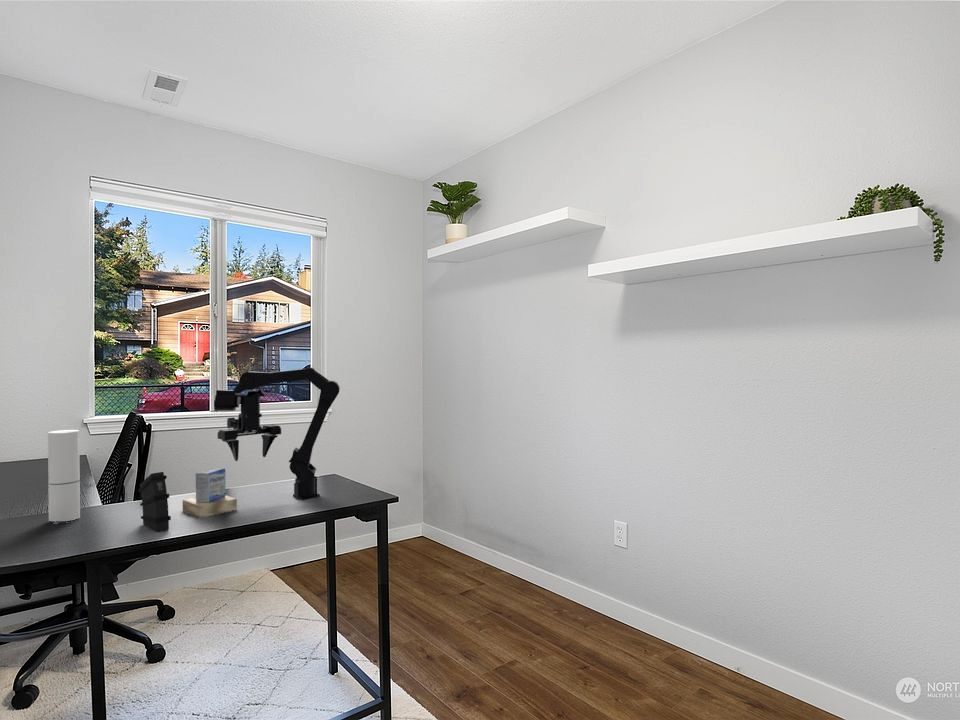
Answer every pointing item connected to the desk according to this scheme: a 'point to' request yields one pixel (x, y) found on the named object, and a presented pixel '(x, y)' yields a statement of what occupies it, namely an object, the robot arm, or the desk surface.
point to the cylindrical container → (63, 475)
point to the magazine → (155, 502)
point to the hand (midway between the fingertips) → (250, 458)
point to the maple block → (209, 506)
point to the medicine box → (210, 485)
